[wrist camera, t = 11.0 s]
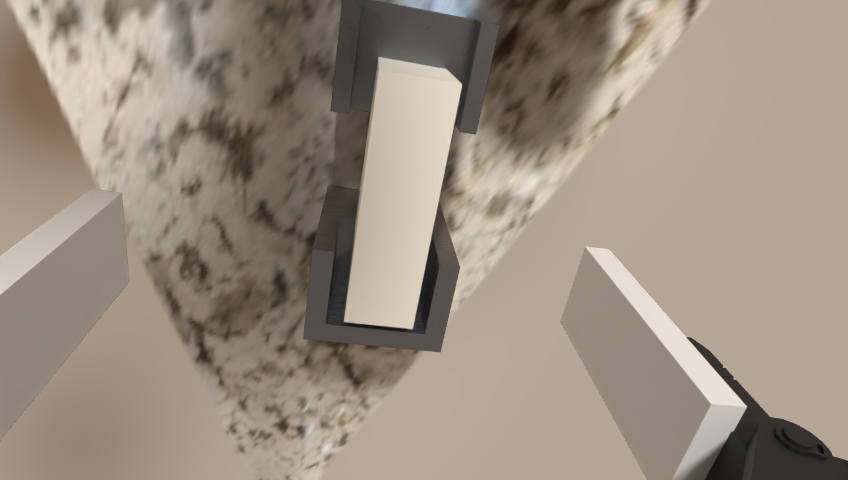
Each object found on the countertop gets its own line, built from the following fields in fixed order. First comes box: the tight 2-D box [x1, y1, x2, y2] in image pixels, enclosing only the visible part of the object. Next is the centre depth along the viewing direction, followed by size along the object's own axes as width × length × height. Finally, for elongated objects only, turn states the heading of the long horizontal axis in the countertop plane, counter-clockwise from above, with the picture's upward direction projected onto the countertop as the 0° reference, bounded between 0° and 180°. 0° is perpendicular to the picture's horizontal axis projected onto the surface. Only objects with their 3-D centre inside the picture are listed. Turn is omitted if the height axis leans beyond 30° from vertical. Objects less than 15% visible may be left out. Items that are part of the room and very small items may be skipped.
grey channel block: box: [331, 0, 500, 134], centre depth 32 cm, size 6×8×8 cm
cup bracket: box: [303, 185, 460, 352], centre depth 36 cm, size 6×8×11 cm
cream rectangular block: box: [344, 57, 462, 329], centre depth 30 cm, size 14×4×6 cm, turn 170°
